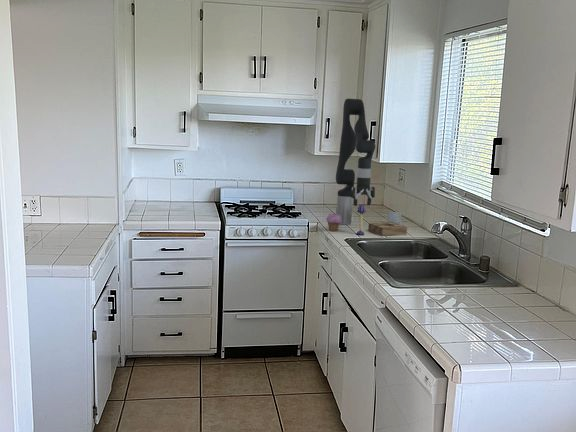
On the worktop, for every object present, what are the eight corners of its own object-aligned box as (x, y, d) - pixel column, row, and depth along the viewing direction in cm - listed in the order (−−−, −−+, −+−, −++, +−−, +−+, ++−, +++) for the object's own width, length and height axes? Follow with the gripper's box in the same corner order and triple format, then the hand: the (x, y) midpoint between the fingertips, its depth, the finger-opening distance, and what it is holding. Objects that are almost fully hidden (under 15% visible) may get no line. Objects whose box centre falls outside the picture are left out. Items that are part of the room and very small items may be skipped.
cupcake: (324, 228, 340) (325, 211, 338) (338, 228, 342) (339, 212, 340) (328, 232, 332) (329, 214, 330) (342, 232, 333) (343, 214, 331)
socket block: (368, 230, 340) (368, 222, 339) (391, 229, 346) (391, 221, 345) (382, 236, 326) (383, 227, 326) (406, 234, 333) (406, 226, 332)
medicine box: (400, 226, 355) (401, 212, 354) (400, 228, 351) (401, 213, 349) (387, 225, 357) (388, 211, 356) (387, 226, 353) (388, 212, 351)
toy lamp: (354, 234, 329) (356, 204, 326) (358, 233, 332) (360, 204, 329) (361, 235, 326) (363, 206, 323) (366, 234, 329) (367, 205, 326)
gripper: (371, 175, 329) (369, 204, 332) (349, 175, 323) (347, 204, 326) (378, 177, 323) (376, 206, 325) (356, 177, 317) (354, 207, 320)
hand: (362, 205), depth 326 cm, fingers open, 8 cm apart
